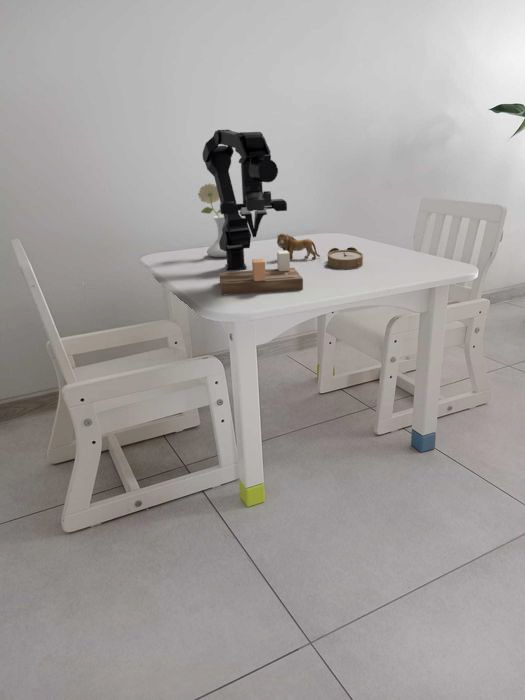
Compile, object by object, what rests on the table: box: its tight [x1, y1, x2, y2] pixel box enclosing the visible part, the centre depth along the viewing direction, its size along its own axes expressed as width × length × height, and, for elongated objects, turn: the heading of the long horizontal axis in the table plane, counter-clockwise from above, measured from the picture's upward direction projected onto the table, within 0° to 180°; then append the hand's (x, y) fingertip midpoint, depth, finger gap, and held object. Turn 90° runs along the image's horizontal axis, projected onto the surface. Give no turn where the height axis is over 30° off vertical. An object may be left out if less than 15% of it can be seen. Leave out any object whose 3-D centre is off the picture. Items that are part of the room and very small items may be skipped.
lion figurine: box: [276, 232, 321, 261], centre depth 172 cm, size 15×5×9 cm, turn 94°
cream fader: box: [276, 250, 291, 271], centre depth 145 cm, size 4×3×5 cm
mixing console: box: [218, 267, 304, 296], centre depth 142 cm, size 13×22×3 cm, turn 97°
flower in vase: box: [197, 183, 226, 258], centre depth 177 cm, size 13×11×25 cm
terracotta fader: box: [251, 258, 266, 281], centre depth 136 cm, size 4×3×5 cm
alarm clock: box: [327, 247, 364, 270], centre depth 164 cm, size 11×5×15 cm
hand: (254, 237), depth 147 cm, fingers closed
